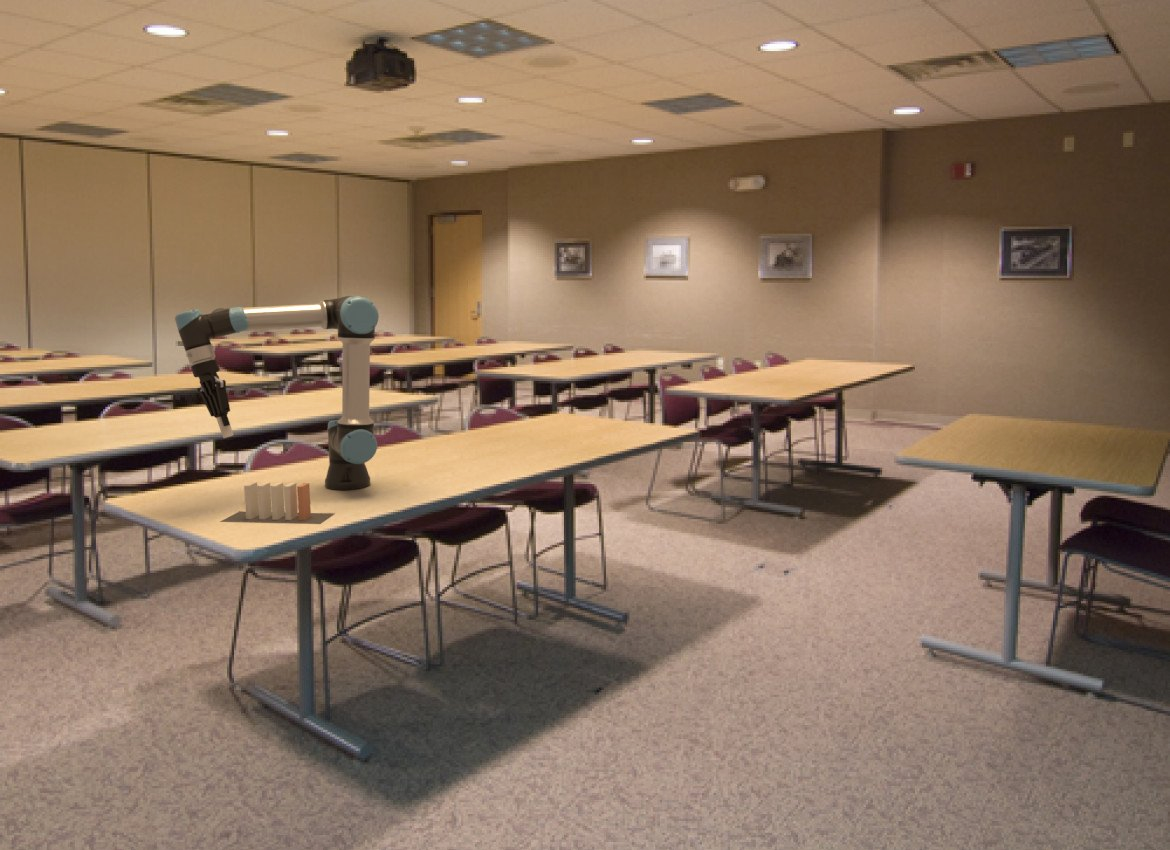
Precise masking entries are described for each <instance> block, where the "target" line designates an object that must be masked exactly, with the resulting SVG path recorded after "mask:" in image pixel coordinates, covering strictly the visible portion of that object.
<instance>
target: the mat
mask: <svg viewBox="0 0 1170 850" xmlns="http://www.w3.org/2000/svg"><path fill="white" fill-rule="evenodd" d="M335 515H336V513H335V512H334V513H331V512H329V513H325V512H311V516H310V517H309V518H307V519H306V520H299V512H298V516H297V517H295V518H293V519H292V520H286V516H283V517H281V518H280V519H278V520H272V515H271V516H270V517H268V518H266V519H259V515H258V516H256V517H254V518H252V519H246V511H242V510H241V511H238V512H235V513H234V514H232V515H230V516H228V517H226V518H224V519H222V520H220V521H219V522H220V523H253V524H254V523H256V524H257V523H258V524H259V523H260V524H294V525H296V524H298V525H299V524H302V525H303V524H304V525H305V524H306V525H308V524H309V525H321V524H323V523H324V522H326V521H327V520H329V519H330V518H331V517H333V516H335Z"/></svg>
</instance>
